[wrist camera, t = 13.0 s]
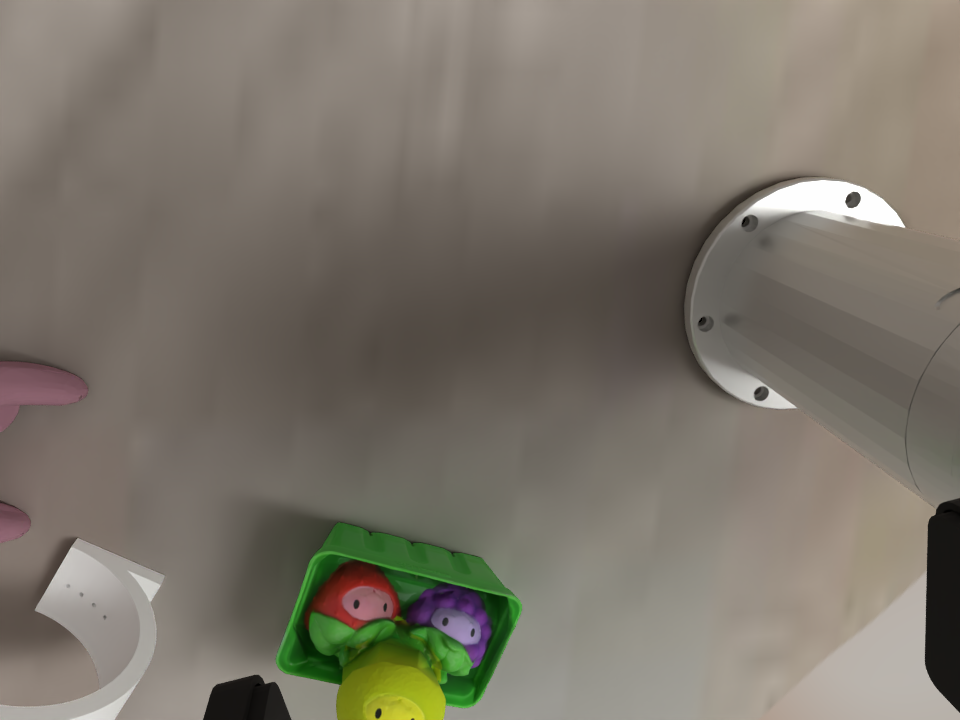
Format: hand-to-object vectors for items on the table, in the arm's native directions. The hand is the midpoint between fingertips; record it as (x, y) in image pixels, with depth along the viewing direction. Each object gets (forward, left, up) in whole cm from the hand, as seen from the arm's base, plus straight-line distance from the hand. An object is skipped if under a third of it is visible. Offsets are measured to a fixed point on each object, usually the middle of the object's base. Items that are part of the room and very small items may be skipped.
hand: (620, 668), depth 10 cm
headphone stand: (+22, +14, -28) cm, 39 cm away
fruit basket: (+7, +18, -29) cm, 35 cm away
